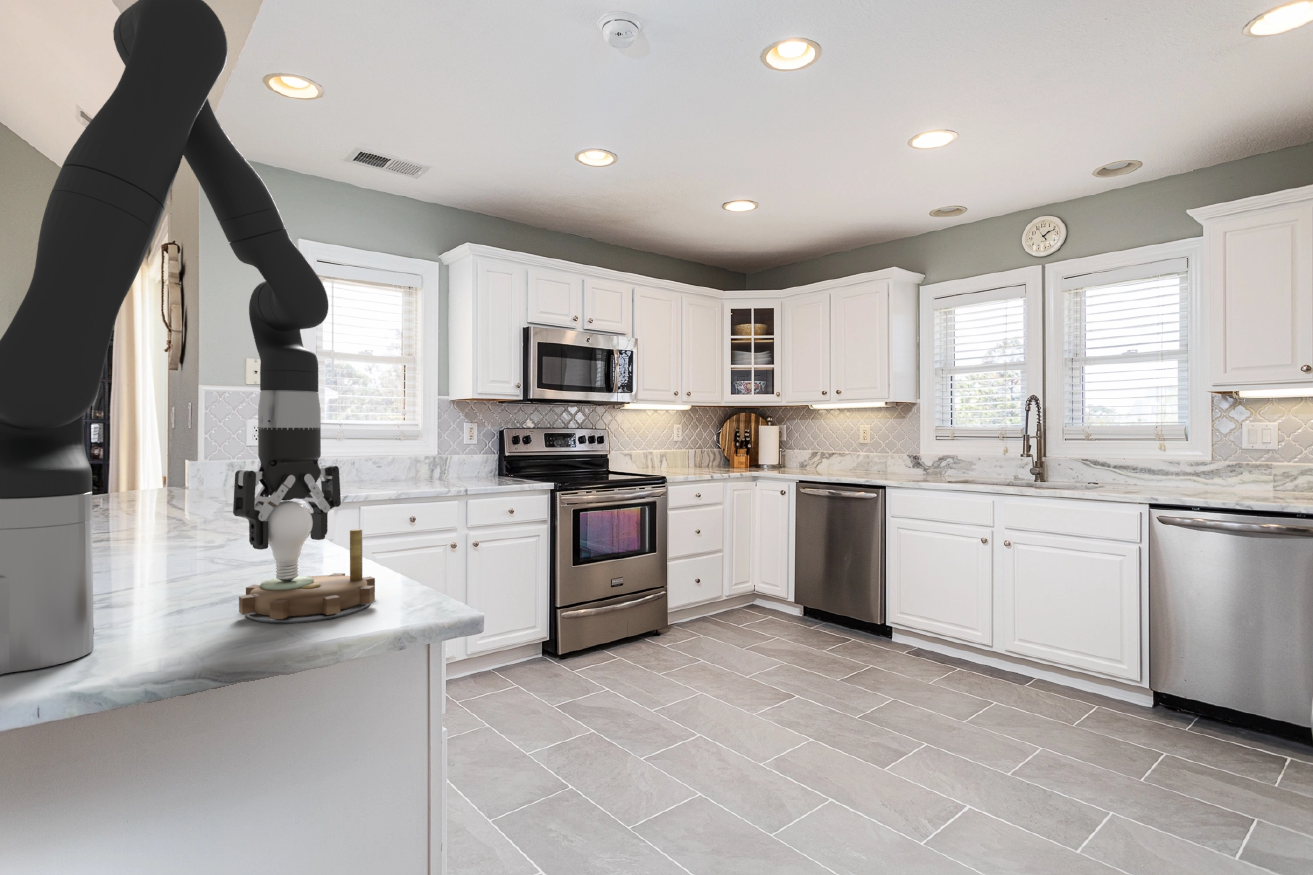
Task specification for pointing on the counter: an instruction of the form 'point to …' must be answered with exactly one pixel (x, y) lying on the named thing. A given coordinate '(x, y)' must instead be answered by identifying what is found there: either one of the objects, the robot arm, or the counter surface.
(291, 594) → the sprocket
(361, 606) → the plate
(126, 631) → the counter surface
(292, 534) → the lightbulb
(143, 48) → the robot arm
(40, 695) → the counter surface
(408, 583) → the counter surface
